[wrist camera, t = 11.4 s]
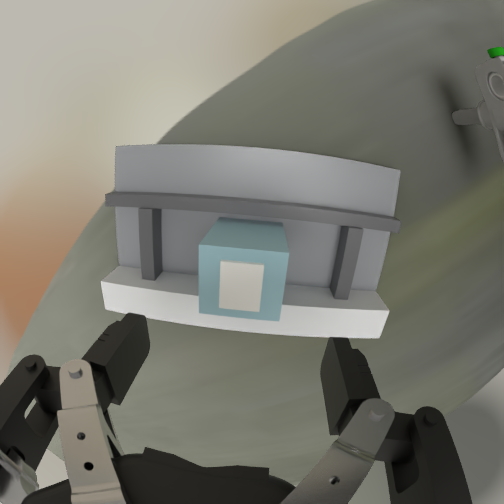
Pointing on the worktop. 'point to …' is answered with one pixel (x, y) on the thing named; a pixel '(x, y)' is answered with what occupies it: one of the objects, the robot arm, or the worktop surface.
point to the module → (243, 269)
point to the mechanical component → (488, 98)
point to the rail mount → (253, 208)
